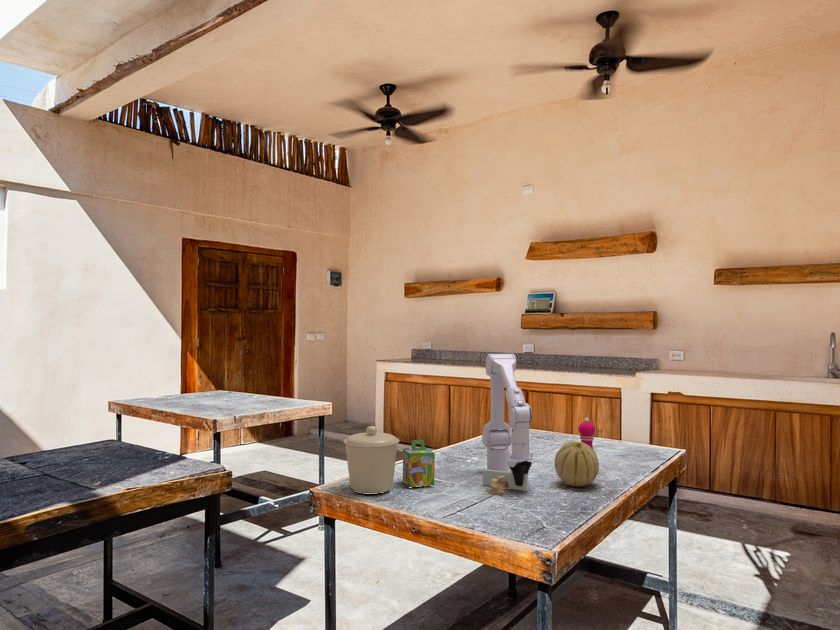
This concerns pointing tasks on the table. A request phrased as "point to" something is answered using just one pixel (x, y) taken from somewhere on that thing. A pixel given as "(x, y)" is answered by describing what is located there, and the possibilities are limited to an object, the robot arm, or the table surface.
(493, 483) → the wooden rack
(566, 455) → the cantaloupe
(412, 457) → the chalk box
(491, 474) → the pale gray-green board
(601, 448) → the table surface
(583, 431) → the pepper mill
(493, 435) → the robot arm
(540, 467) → the table surface
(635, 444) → the table surface
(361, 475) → the canister
